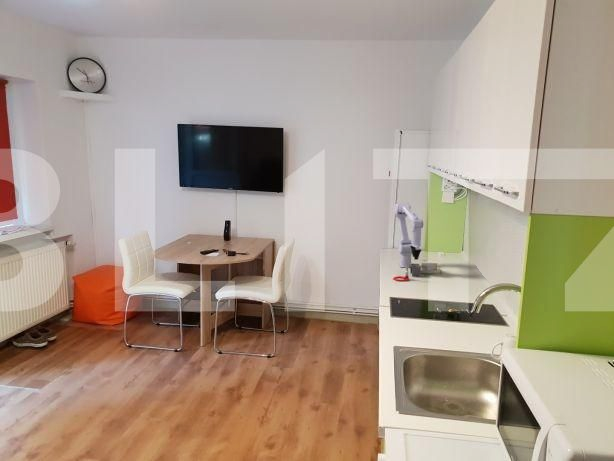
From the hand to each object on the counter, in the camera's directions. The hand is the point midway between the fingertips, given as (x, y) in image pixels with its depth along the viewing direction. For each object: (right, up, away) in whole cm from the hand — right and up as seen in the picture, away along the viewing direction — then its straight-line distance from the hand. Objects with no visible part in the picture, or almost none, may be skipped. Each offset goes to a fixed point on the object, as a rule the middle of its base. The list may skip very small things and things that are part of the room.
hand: (415, 258), depth 283 cm
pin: (+9, -8, -1) cm, 12 cm away
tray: (+8, -9, +3) cm, 13 cm away
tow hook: (-13, -13, -15) cm, 23 cm away
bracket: (-1, -10, -5) cm, 11 cm away
